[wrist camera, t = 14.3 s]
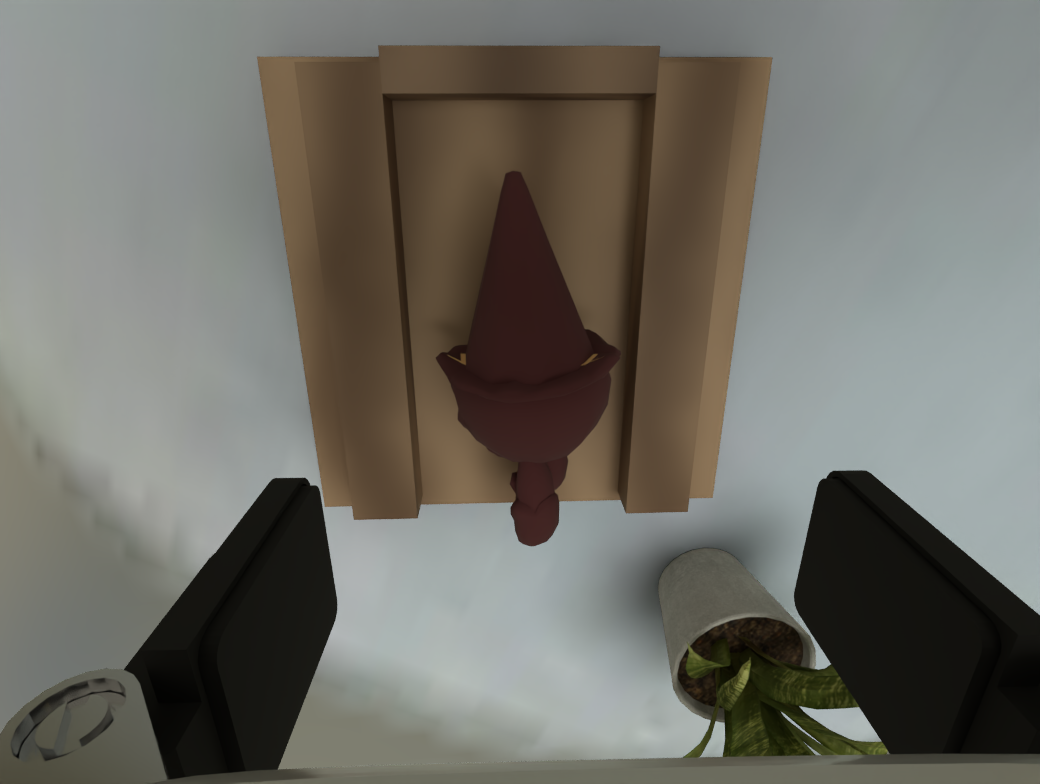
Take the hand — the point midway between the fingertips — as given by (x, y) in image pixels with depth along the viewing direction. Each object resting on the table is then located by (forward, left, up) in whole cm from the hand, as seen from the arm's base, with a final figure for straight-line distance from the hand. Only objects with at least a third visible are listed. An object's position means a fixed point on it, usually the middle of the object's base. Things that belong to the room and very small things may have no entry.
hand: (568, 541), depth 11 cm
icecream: (0, +1, -16) cm, 16 cm away
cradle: (0, -1, -18) cm, 18 cm away
